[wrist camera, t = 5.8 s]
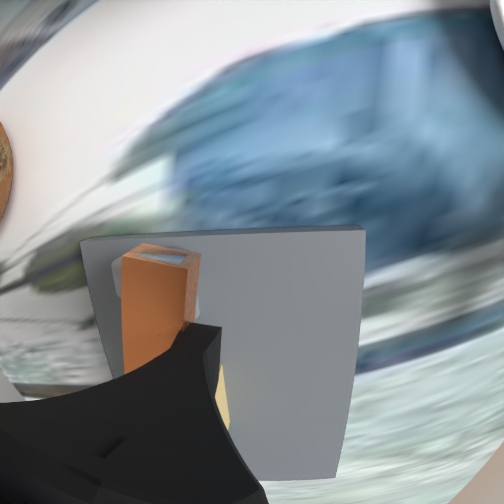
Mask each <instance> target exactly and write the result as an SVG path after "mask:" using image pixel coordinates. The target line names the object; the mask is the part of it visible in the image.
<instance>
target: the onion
mask: <svg viewBox="0 0 504 504" xmlns="http://www.w3.org/2000/svg"><path fill="white" fill-rule="evenodd" d="M12 175H13V161H12V152H11V147H10V143H9V140H8V137H7V135H6V133H5V130H4V128H3V126H2V124H1V122H0V221H1V218H2V216H3V214H4V211H5V208H6V204H7V201H8V197H9V192H10V187H11V182H12Z"/></svg>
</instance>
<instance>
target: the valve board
mask: <svg viewBox="0 0 504 504" xmlns="http://www.w3.org/2000/svg"><path fill="white" fill-rule="evenodd" d="M365 242H366V230H365V229H364V228H362V227H361V226H360V225H347V226H309V227H278V228H252V229H228V230H206V231H185V232H166V233H148V234H131V235H115V236H100V237H90V238H88V239H86V240H84V241H82V242H80V247H81V252H82V258H83V263H84V269H85V274H86V279H87V283H88V288H89V293H90V297H91V301H92V306H93V310H94V314H95V318H96V322H97V325H98V329H99V333H100V336H101V340H102V343H103V347H104V350H105V354H106V357H107V360H108V363H109V366H110V370H111V373H112V376H113V379H115V378H118V377H120V376H122V375H124V374H125V371H124V357H123V340H122V310H121V267H122V256H123V255H124V254H126V253H127V252H129V251H131V250H132V249H134V248H135V247H137V246H139V245H140V244H142V243H146V244H151V245H157V246H163V247H168V248H174V249H179V250H185V251H191V252H196V253H201V260H200V269H199V279H198V289H197V299H196V309H195V320H194V323H199V324H205V325H212V326H219V327H222V337H221V352H220V368H219V381H218V385H217V390H216V394H215V399H216V403H217V406H218V408H219V411H220V414H221V416H222V419H223V421H224V424H225V426H226V428H227V430H228V432H229V434H230V436H231V438H232V440H233V442H234V444H235V446H236V448H237V450H238V451H239V453H240V455H241V457H242V458H243V460H244V462H245V463H246V465H247V466H248V468H249V469H250V471H251V472H252V473H253V475H254V476H255V478H256V479H257V480H258V481H290V480H313V479H327V478H335V476H336V472H337V468H338V463H339V459H340V454H341V449H342V445H343V440H344V435H345V429H346V424H347V418H348V413H349V407H350V401H351V395H352V388H353V381H354V374H355V367H356V359H357V351H358V342H359V333H360V323H361V312H362V299H363V285H364V267H365Z"/></svg>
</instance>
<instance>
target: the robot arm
mask: <svg viewBox="0 0 504 504" xmlns="http://www.w3.org/2000/svg"><path fill="white" fill-rule="evenodd" d="M221 337H222V327H219V326H212V325H205V324H199V323H193V322H192V323H191V324H190V325H188V326H187V327H186V329H185V330H184V331H179V332H178V334H177V336H176V338H175V339H174V341H173V343H172V345H171V347H170V348H169V349H168V350H166V351H165V352H163V353H162V354H160V355H159V356H157V357H156V358H154V359H152V360H151V361H149V362H147V363H146V364H144V365H142V366H140V367H139V368H137V369H135V370H133V371H131V372H129V373H127V374H124V375H122V376H120V377H118V378H115V379H113V380H111V381H108V382H105V383H102V384H100V385H97V386H94V387H91V388H88V389H85V390H82V391H78V392H75V393H70V394H66V395H62V396H57V397H52V398H47V399H41V400H34V401H23V402H10V403H0V504H269V503H268V500H267V498H266V495H265V491H264V489H263V487H262V486H261V484H260V483H259V482H258V480H257V479H256V478H255V476H254V475H253V473H252V472H251V471H250V469H249V468H248V466H247V465H246V463H245V462H244V460H243V458H242V457H241V455H240V453H239V451H238V450H237V448H236V446H235V444H234V442H233V440H232V438H231V436H230V434H229V432H228V430H227V428H226V426H225V424H224V421H223V419H222V416H221V414H220V411H219V408H218V406H217V403H216V399H215V394H216V390H217V385H218V381H219V368H220V352H221Z"/></svg>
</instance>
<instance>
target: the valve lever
mask: <svg viewBox="0 0 504 504" xmlns="http://www.w3.org/2000/svg"><path fill="white" fill-rule="evenodd" d="M200 260H201V253H196V252H191V251H185V250H179V249H174V248H168V247H163V246H157V245H151V244H146V243H142V244H140V245H139V246H137V247H135V248H134V249H132V250H131V251H129V252H127V253H126V254H124V255H123V256H122V267H121V310H122V340H123V357H124V371H125V374H127V373H129V372H131V371H133V370H135V369H137V368H139V367H140V366H142V365H144V364H146V363H147V362H149V361H151V360H152V359H154V358H156V357H157V356H159V355H160V354H162V353H163V352H165V351H166V350H168V349H169V348H170V347H171V345H172V343H173V341H174V339H175V338H176V336H177V334H178V332H179V331H184V330H185V329H186V327H187V326H188V325H190V324H191V323H192V322H193V323H194V320H195V309H196V299H197V289H198V279H199V269H200Z"/></svg>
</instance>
